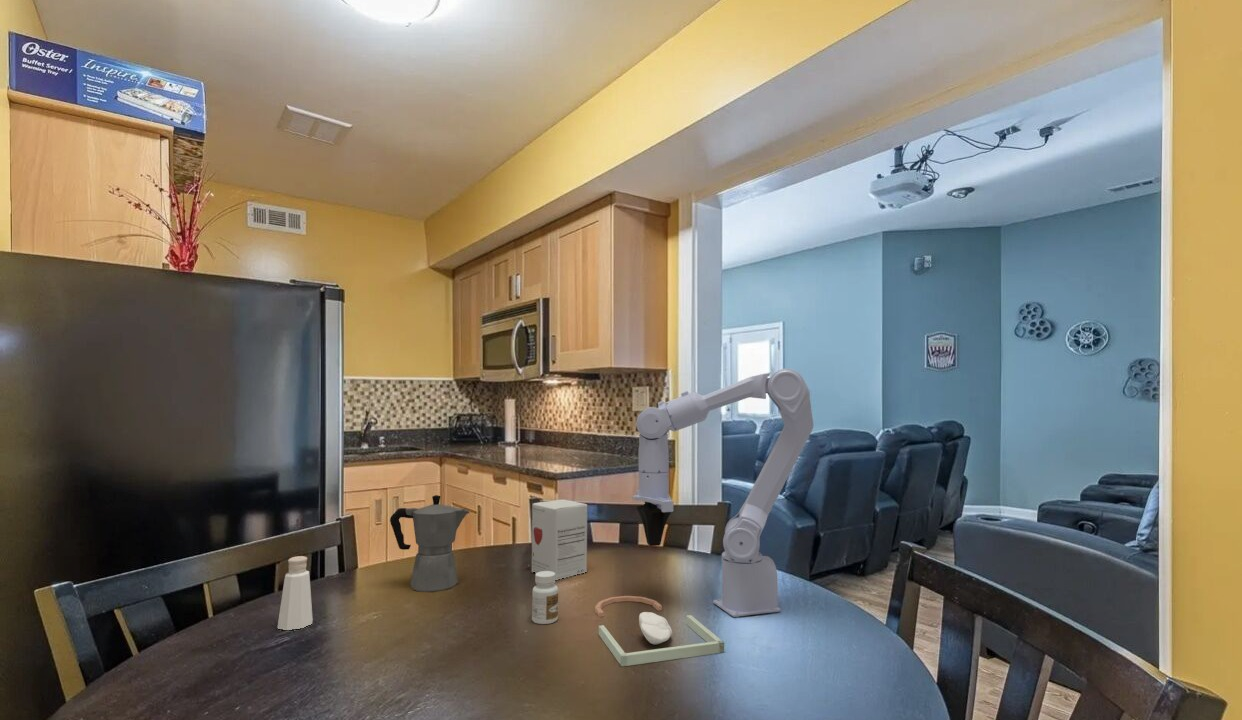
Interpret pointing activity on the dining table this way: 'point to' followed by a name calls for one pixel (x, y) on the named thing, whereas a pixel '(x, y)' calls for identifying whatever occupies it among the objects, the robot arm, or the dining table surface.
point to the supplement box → (559, 537)
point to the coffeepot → (431, 544)
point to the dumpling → (654, 627)
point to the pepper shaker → (296, 596)
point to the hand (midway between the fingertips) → (653, 544)
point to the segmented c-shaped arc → (625, 598)
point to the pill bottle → (545, 598)
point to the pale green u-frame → (670, 653)
